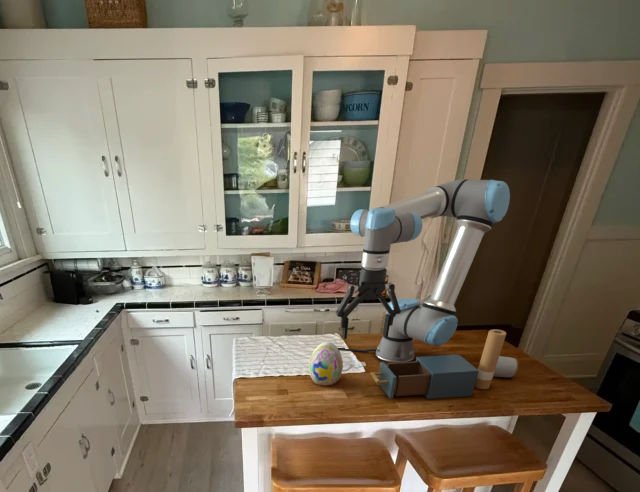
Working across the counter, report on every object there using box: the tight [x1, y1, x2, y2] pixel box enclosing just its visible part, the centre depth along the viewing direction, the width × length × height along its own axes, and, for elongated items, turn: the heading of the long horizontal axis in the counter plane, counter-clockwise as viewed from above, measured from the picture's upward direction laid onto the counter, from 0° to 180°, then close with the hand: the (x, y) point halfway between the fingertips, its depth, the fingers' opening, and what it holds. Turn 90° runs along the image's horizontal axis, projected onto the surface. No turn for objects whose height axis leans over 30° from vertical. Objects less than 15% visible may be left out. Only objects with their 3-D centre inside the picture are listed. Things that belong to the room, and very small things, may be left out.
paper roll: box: [474, 328, 507, 390], centre depth 146 cm, size 5×5×20 cm
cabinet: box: [415, 354, 479, 400], centre depth 148 cm, size 16×14×10 cm
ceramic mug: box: [493, 355, 519, 378], centre depth 157 cm, size 11×8×8 cm
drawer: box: [369, 360, 432, 399], centre depth 147 cm, size 19×12×8 cm, turn 95°
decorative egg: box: [308, 341, 344, 387], centre depth 154 cm, size 12×12×15 cm
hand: (364, 336), depth 137 cm, fingers open, 13 cm apart
